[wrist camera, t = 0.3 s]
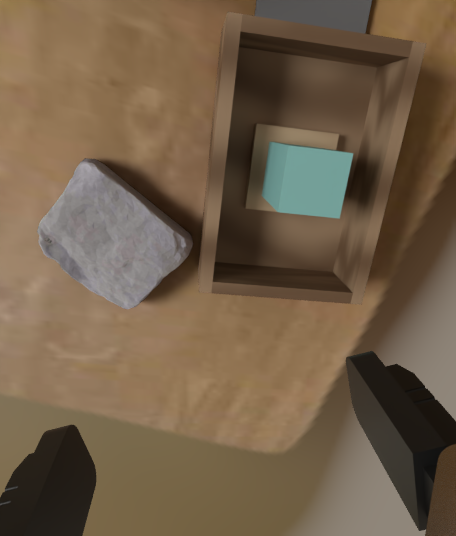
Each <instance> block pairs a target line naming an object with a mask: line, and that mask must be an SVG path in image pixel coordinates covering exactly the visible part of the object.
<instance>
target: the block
mask: <svg viewBox="0 0 456 536" xmlns="http://www.w3.org/2000/svg"><path fill="white" fill-rule="evenodd" d="M352 158H353V153H349V152H343V151H337V150H331V149H325V148H319V147H310V146H302V145H294V144H286V143H278V142H270V141H269V148H268V155H267V162H266V169H265V176H264V183H263V190H262V197H263V198H264V199H265V200H266V201H267V202H268V203H269V204H270V205H271V206H272V207H273V208H274V209H275V210H276V211H277V212H280V213H290V214H300V215H310V216H320V217H329V218H339V219H340V214H341V209H342V205H343V200H344V195H345V191H346V186H347V181H348V177H349V172H350V167H351V162H352Z"/></svg>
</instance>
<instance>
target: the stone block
mask: <svg viewBox="0 0 456 536" xmlns="http://www.w3.org/2000/svg"><path fill="white" fill-rule="evenodd" d="M37 232H38V234H39V241H38V242H39V245H40V247H41V248H42V251H43V253H44V254H45V255H46V256H47V257H49V258H51V259H53V260H55V261H56V262H58V263H59V264H60V266H61V268H62V269H63V270H64V271H65V272H66V273H67V274H69V275H70V276H71V277H72V278H73V279H75V280H77V281H78V282H79V283H82V284H83V285H84V286H85V287H86V288H88V289H89V290H90V291H92V292H94V293H95V294H98V295H100V296H104V297H105V298H106V299H107V300H108V301H111V302H113V303H115V304H116V305H118V306H120V307H122V308H124V309H130V308H133V307H136V306H137V305H138V304H139V303H140V302H141V301H143V300H144V299H145V298H146V297H147V296H148V295H149V294H150V292H151V291H152V290H153V289H154V288H156V287H157V285H158V284H160V283H161V280H162V279H163V278H164V277H165V276H167V275H168V274H169V273H170V272H172V271H173V270H175V269H176V268H177V267H178V266H179V265H180V264H181V263H182V262H183V261H184V260H185V259H186V258H187V257H188V256H189V253H190V250H191V248H192V246H193V242H192V237H191V235H190V234H189V233H188V232H187V231H186V230H184V229H183V228H182V227H181V226H180V225H178V224H177V223H176V222H175V221H173V220H172V219H171V218H170V217H169V216H167V215H166V214H165V213H163V212H162V211H161V210H160V209H158V208H157V207H156V206H155V205H154V204H152V203H151V202H150V201H149V200H147V199H146V198H145V197H144V196H143V195H141V194H140V193H139V192H138V191H136V190H135V189H134V188H133V187H131V186H130V185H129V184H127V183H126V182H125V181H124V180H123V179H121V178H120V177H119V176H118V175H117V174H115V173H114V172H113V171H112V170H111V169H109V168H108V167H107V166H106V165H104V164H103V163H101V162H99V161H98V160H96V159H84V160H83V161H82V162H80V164H79V165H78V167H77V168H76V170H75V172H74V176H73V178H72V179H71V180H70V181H69V184H68V186H67V187H66V189H65V191H64V192H63V194H62V195H61V196H60V198H59V199H58V200H57V202H56V203H55V204H54V206H53V207H52V208H51V209H50V211H49V212H48V214H46V215H45V216H44V217H43V218H42V220H41V222H40V224H39V227H38V231H37Z"/></svg>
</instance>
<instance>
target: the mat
mask: <svg viewBox="0 0 456 536" xmlns="http://www.w3.org/2000/svg"><path fill="white" fill-rule="evenodd" d="M371 3H372V0H257V1H256V9H255V16H258V17H264V18H270V19H276V20H283V21H289V22H295V23H301V24H308V25H314V26H320V27H326V28H333V29H339V30H345V31H351V32H358V33H364V34H365V32H366V27H367V22H368V17H369V12H370V8H371Z"/></svg>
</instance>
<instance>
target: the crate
mask: <svg viewBox="0 0 456 536" xmlns="http://www.w3.org/2000/svg"><path fill="white" fill-rule="evenodd" d="M426 44H427V43H420V42H414V41H408V40H402V39H395V38H389V37H383V36H377V35H370V34H364V33H358V32H351V31H345V30H339V29H333V28H326V27H320V26H314V25H308V24H301V23H295V22H289V21H283V20H276V19H270V18H264V17H258V16H251V15H245V14H239V13H233V12H227V15H226V18H225V22H224V25H223V28H222V32H221V41H220V51H219V61H218V71H217V81H216V91H215V102H214V112H213V122H212V132H211V142H210V152H209V163H208V173H207V183H206V193H205V203H204V213H203V224H202V234H201V244H200V254H199V264H198V277H199V292H203V293H216V294H229V295H242V296H256V297H269V298H282V299H295V300H308V301H322V302H335V303H348V304H361V305H362V301H363V297H364V293H365V289H366V285H367V281H368V277H369V273H370V269H371V265H372V261H373V257H374V253H375V249H376V245H377V241H378V237H379V233H380V229H381V224H382V220H383V216H384V212H385V208H386V204H387V200H388V196H389V192H390V188H391V184H392V180H393V176H394V172H395V168H396V164H397V160H398V156H399V152H400V148H401V144H402V140H403V136H404V132H405V128H406V124H407V120H408V116H409V112H410V108H411V104H412V100H413V96H414V92H415V88H416V84H417V80H418V76H419V72H420V68H421V64H422V60H423V56H424V52H425V48H426ZM269 141H270V142H278V143H286V144H294V145H302V146H310V147H319V148H325V149H331V150H337V151H343V152H349V153H353V158H352V162H351V167H350V172H349V177H348V181H347V186H346V191H345V195H344V200H343V205H342V209H341V214H340V219H339V218H329V217H320V216H310V215H300V214H290V213H280V212H277V211H276V210H275V209H274V208H273V207H272V206H271V205H270V204H269V203H268V202H267V201H266V200H265V199H264V198H263V197H262V190H263V183H264V176H265V169H266V162H267V155H268V148H269Z"/></svg>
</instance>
